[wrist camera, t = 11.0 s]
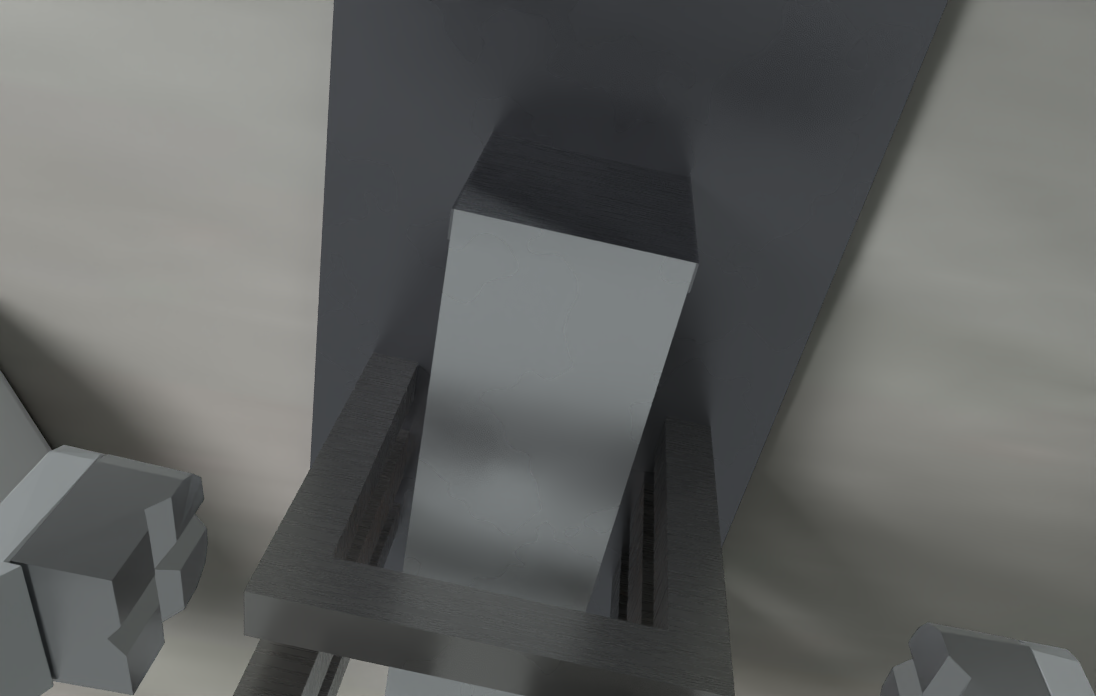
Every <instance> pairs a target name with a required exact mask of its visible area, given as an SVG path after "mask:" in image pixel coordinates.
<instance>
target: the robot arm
mask: <svg viewBox="0 0 1096 696" xmlns="http://www.w3.org/2000/svg"><path fill="white" fill-rule="evenodd" d="M203 500H204V495H203V487H202V480H201V477H199V476H197V475H195V474H193V473H189V472H184V471H180V470H175V469H171V468H167V467H162V466H158V465H154V464H149V463H145V462H141V461H136V460H132V459H128V458H123V457H119V456H115V455H110V454H103V453H98V452H94V451H89V450H85V449H81V448H76V447H72V446H67V445H63V446H60V447H58V448H56V449H54V450H52V451H50V452H48V453H47V454H46V455H45V456H44V457H43V458H42V460H41V461H40V462H39V463H38V464H37V465H36V466H35V467H34V468H33V469H32V470H31V471H30V472H29V473H28V474H27V475H26V476H25V478H24V479H23V480H22V481H21V482H20V483H19V484H18V485H17V486H16V487H15V488H14V489H13V490H12V491H11V492H10V493H9V495H8V496H7V497H6V498H5V499H4V500H3V501H2V502H1V503H0V696H40V695H41V694H43V693H44V692H46V691H47V690H49V689H50V688H51V687H53V681H56V682H61V683H67V684H73V685H78V686H84V687H90V688H95V689H101V690H107V691H112V692H118V693H124V694H129V695H134V693H135V691H136V690H137V688H138V686H139V685H140V683H141V681H142V680H143V678H144V676H145V675H146V673H147V671H148V670H149V668H150V666H151V665H152V663H153V661H154V660H155V658H156V656H157V655H158V653H159V651H160V650H161V648H162V646H163V645H164V643H165V641H164V633H163V626H162V622H163V621H165V620H167V619H168V618H170V617H172V616H173V615H175V614H177V613H179V612H180V611H182V610H184V609H185V607H186V605H187V604H188V602H189V600H190V598H191V597H192V595H193V593H194V591H195V590H196V588H197V585H198V582H199V579H200V576H201V573H202V571H203V568H204V565H205V561H206V553H207V545H208V539H207V527H206V526H205V525H204V524H203V523H202V521H201V520H200V519H199V518H198V517H197V516H196V515H195V513H196V511H197V509H198V508H199V506H200V505H201V503H202V502H203ZM908 643H909V647H910V650H911V654H912V659H910V660H908V661H906V662H903V663H901V664H899V665H897V666H895V667H893V668H892V670H891V671H890V673H889V675H888V677H887V679H886V680H885V682H884V684H883V686H882V689H881V695H880V696H1095V694H1094V692H1093V690H1092V688H1091V686H1090V683H1089V681H1088V679H1087V677H1086V675H1085V673H1084V671H1083V669H1082V667H1081V665H1080V663H1079V661H1078V659H1077V658H1076V657H1075V656H1074V655H1073V654H1072V653H1071V652H1070V651H1069V650H1068V649H1064V648H1059V647H1054V646H1048V645H1043V644H1038V643H1033V642H1028V641H1023V640H1015V639H1013V638H1009V637H1004V636H999V635H993V634H988V633H983V632H978V631H973V630H967V629H962V628H957V627H952V626H947V625H941V624H936V623H931V622H928V623H926V624H924V625H922V626H921V627H919V628H918V629H917V630H916V632H915V633H914V635H913V636H912V638H911V639H910V641H909V642H908Z"/></svg>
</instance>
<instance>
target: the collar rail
mask: <svg viewBox="0 0 1096 696" xmlns="http://www.w3.org/2000/svg"><path fill="white" fill-rule="evenodd" d="M947 2H948V0H334V12H333V31H332V51H331V70H330V90H329V110H328V129H327V149H326V168H325V188H324V207H323V227H322V247H321V266H320V286H319V305H318V325H317V344H316V364H315V384H314V403H313V423H312V442H311V462H310V470H309V472H308V474H307V476H306V478H305V480H304V481H303V483H302V485H301V487H300V489H299V491H298V492H297V494H296V496H295V498H294V500H293V502H292V504H291V505H290V507H289V509H288V511H287V513H286V515H285V517H284V518H283V520H282V522H281V524H280V526H279V528H278V530H277V531H276V533H275V535H274V537H273V539H272V541H271V542H270V544H269V546H268V548H267V550H266V552H265V554H264V555H263V557H262V559H261V561H260V563H259V565H258V567H257V568H256V570H255V572H254V574H253V576H252V578H251V580H250V581H249V583H248V585H247V587H246V589H245V591H244V635H246V636H251V637H255V638H260V641H259V643H258V645H257V647H256V649H255V651H254V654H253V656H252V658H251V660H250V662H249V664H248V666H247V668H246V670H245V672H244V674H243V676H242V678H241V680H240V682H239V684H238V686H237V688H236V690H235V692H234V695H233V696H336V695H337V692H338V689H339V687H340V684H341V681H342V679H343V676H344V673H345V670H346V668H347V665H348V662H349V660H350V658H352V659H357V660H361V661H366V662H371V663H375V664H380V665H384V666H389V667H394V668H398V669H403V670H407V671H412V672H417V673H421V674H426V675H431V676H435V677H440V678H444V679H449V680H454V681H458V682H463V683H467V684H472V685H477V686H481V687H486V688H491V689H495V690H500V691H504V692H509V693H514V694H518V695H523V696H735V692H734V681H733V670H732V659H731V648H730V637H729V626H728V615H727V603H726V592H725V581H724V570H723V559H722V545H723V543H724V540H725V538H726V536H727V533H728V531H729V528H730V526H731V523H732V521H733V519H734V516H735V514H736V511H737V509H738V507H739V504H740V502H741V499H742V497H743V494H744V492H745V490H746V487H747V485H748V482H749V480H750V478H751V475H752V473H753V470H754V468H755V465H756V463H757V461H758V458H759V456H760V453H761V451H762V449H763V446H764V444H765V441H766V439H767V436H768V434H769V432H770V429H771V427H772V424H773V422H774V420H775V417H776V415H777V412H778V410H779V408H780V405H781V403H782V400H783V398H784V395H785V393H786V391H787V388H788V386H789V383H790V381H791V379H792V376H793V374H794V371H795V369H796V366H797V364H798V362H799V359H800V357H801V354H802V352H803V350H804V347H805V345H806V342H807V340H808V337H809V335H810V333H811V330H812V328H813V325H814V323H815V321H816V318H817V316H818V313H819V311H820V308H821V306H822V304H823V301H824V299H825V296H826V294H827V292H828V289H829V287H830V284H831V282H832V279H833V277H834V275H835V272H836V270H837V267H838V265H839V263H840V260H841V258H842V255H843V253H844V251H845V248H846V246H847V243H848V241H849V238H850V236H851V234H852V231H853V229H854V226H855V224H856V222H857V219H858V217H859V214H860V212H861V209H862V207H863V205H864V202H865V200H866V197H867V195H868V193H869V190H870V188H871V185H872V183H873V180H874V178H875V176H876V173H877V171H878V168H879V166H880V164H881V161H882V159H883V156H884V154H885V151H886V149H887V147H888V144H889V142H890V139H891V137H892V135H893V132H894V130H895V127H896V125H897V122H898V120H899V118H900V115H901V113H902V110H903V108H904V106H905V103H906V101H907V98H908V96H909V93H910V91H911V89H912V86H913V84H914V81H915V79H916V77H917V74H918V72H919V69H920V67H921V65H922V62H923V60H924V57H925V55H926V52H927V50H928V48H929V45H930V43H931V40H932V38H933V36H934V33H935V31H936V28H937V26H938V23H939V21H940V19H941V16H942V14H943V11H944V9H945V7H946V4H947ZM492 133H494V134H498V135H503V136H507V137H512V138H516V139H520V140H525V141H529V142H534V143H538V144H543V145H547V146H552V147H556V148H561V149H565V150H570V151H574V152H579V153H583V154H587V155H592V156H596V157H601V158H605V159H610V160H614V161H619V162H623V163H628V164H632V165H637V166H641V167H646V168H650V169H655V170H659V171H663V172H668V173H672V174H677V175H681V176H686V177H690V178H691V185H692V195H693V205H694V215H695V226H696V236H697V246H698V256H699V266H698V269H697V272H696V275H695V279H694V282H693V285H692V288H691V291H690V293H688V292H687V295H686V298H685V301H684V304H683V307H682V310H681V314H680V317H679V320H678V323H677V326H676V329H675V332H674V336H673V339H672V342H671V345H670V348H669V351H668V354H667V358H666V361H665V364H664V367H663V370H662V373H661V376H660V380H659V383H658V386H657V389H656V392H655V395H654V399H653V402H652V405H651V408H650V411H649V414H648V417H647V421H646V424H645V427H644V430H643V433H642V436H641V439H640V443H639V446H638V449H637V452H636V455H635V458H634V462H633V465H632V468H631V471H630V474H629V477H628V480H627V484H626V487H625V490H624V493H623V496H622V499H621V502H620V506H619V509H618V512H617V515H616V518H615V521H614V524H613V528H612V531H611V534H610V537H609V540H608V543H607V547H606V550H605V553H604V556H603V559H602V562H601V565H600V569H599V572H598V575H597V578H596V581H595V584H594V587H593V591H592V594H591V597H590V600H589V603H588V606H587V610H586V612H582V611H577V610H573V609H568V608H563V607H559V606H554V605H550V604H545V603H540V602H536V601H531V600H527V599H522V598H517V597H513V596H508V595H504V594H499V593H494V592H490V591H485V590H481V589H476V588H471V587H467V586H462V585H458V584H453V583H448V582H444V581H439V580H435V579H430V578H425V577H421V576H416V575H412V574H407V573H402V572H403V565H404V558H405V551H406V544H407V537H408V530H409V523H410V516H411V509H412V502H413V495H414V488H415V481H416V474H417V467H418V460H419V453H420V446H421V439H422V432H423V425H424V418H425V411H426V404H427V397H428V390H429V383H430V376H431V369H432V362H433V355H434V348H435V341H436V334H437V327H438V320H439V313H440V306H441V299H442V292H443V285H444V278H445V271H446V264H447V257H448V250H449V243H450V239H447V237H448V230H449V223H450V216H451V209H452V207H453V205H454V203H455V201H456V199H457V197H458V196H459V194H460V192H461V190H462V188H463V186H464V184H465V183H466V181H467V179H468V177H469V175H470V173H471V171H472V170H473V168H474V166H475V164H476V162H477V160H478V158H479V157H480V155H481V153H482V151H483V149H484V147H485V145H486V144H487V142H488V140H489V138H490V136H491V134H492Z"/></svg>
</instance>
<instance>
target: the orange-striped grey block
mask: <svg viewBox="0 0 1096 696" xmlns="http://www.w3.org/2000/svg"><path fill="white" fill-rule="evenodd" d="M447 239H450V243H449V250H448V257H447V264H446V271H445V278H444V285H443V292H442V299H441V306H440V313H439V320H438V327H437V334H436V341H435V348H434V355H433V362H432V369H431V376H430V383H429V390H428V397H427V404H426V411H425V418H424V425H423V432H422V439H421V446H420V453H419V460H418V467H417V474H416V481H415V488H414V495H413V502H412V509H411V516H410V523H409V530H408V537H407V544H406V551H405V558H404V565H403V572H402V573H407V574H412V575H416V576H421V577H425V578H430V579H435V580H439V581H444V582H448V583H453V584H458V585H462V586H467V587H471V588H476V589H481V590H485V591H490V592H494V593H499V594H504V595H508V596H513V597H517V598H522V599H527V600H531V601H536V602H540V603H545V604H550V605H554V606H559V607H563V608H568V609H573V610H577V611H582V612H586V610H587V606H588V603H589V600H590V597H591V594H592V591H593V587H594V584H595V581H596V578H597V575H598V572H599V569H600V565H601V562H602V559H603V556H604V553H605V550H606V547H607V543H608V540H609V537H610V534H611V531H612V528H613V524H614V521H615V518H616V515H617V512H618V509H619V506H620V502H621V499H622V496H623V493H624V490H625V487H626V484H627V480H628V477H629V474H630V471H631V468H632V465H633V462H634V458H635V455H636V452H637V449H638V446H639V443H640V439H641V436H642V433H643V430H644V427H645V424H646V421H647V417H648V414H649V411H650V408H651V405H652V402H653V399H654V395H655V392H656V389H657V386H658V383H659V380H660V376H661V373H662V370H663V367H664V364H665V361H666V358H667V354H668V351H669V348H670V345H671V342H672V339H673V336H674V332H675V329H676V326H677V323H678V320H679V317H680V314H681V310H682V307H683V304H684V301H685V298H686V295H687V292H688V293H690V291H691V288H692V285H693V282H694V279H695V275H696V272H697V269H698V266H699V256H698V246H697V236H696V226H695V215H694V205H693V195H692V185H691V178H690V177H686V176H681V175H677V174H672V173H668V172H663V171H659V170H655V169H650V168H646V167H641V166H637V165H632V164H628V163H623V162H619V161H614V160H610V159H605V158H601V157H596V156H592V155H587V154H583V153H579V152H574V151H570V150H565V149H561V148H556V147H552V146H547V145H543V144H538V143H534V142H529V141H525V140H520V139H516V138H512V137H507V136H503V135H498V134H494V133H492V134H491V136H490V138H489V140H488V142H487V144H486V145H485V147H484V149H483V151H482V153H481V155H480V157H479V158H478V160H477V162H476V164H475V166H474V168H473V170H472V171H471V173H470V175H469V177H468V179H467V181H466V183H465V184H464V186H463V188H462V190H461V192H460V194H459V196H458V197H457V199H456V201H455V203H454V205H453V207H452V209H451V216H450V223H449V230H448V237H447ZM385 696H523V695H518V694H514V693H509V692H504V691H500V690H495V689H491V688H486V687H481V686H477V685H472V684H467V683H463V682H458V681H454V680H449V679H444V678H440V677H435V676H431V675H426V674H421V673H417V672H412V671H407V670H403V669H398V668H394V667H389V671H388V678H387V685H386V692H385Z"/></svg>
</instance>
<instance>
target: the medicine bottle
mask: <svg viewBox="0 0 1096 696" xmlns="http://www.w3.org/2000/svg"><path fill="white" fill-rule="evenodd" d="M50 451H52V449H51V448H50V446H49V445H48V443H47V442H46V440H45V439H44V437H43V435H42V434H41V432H40V431H39V429H38V428H37V426H36V425H35V423H34V421H33V420H32V418H31V417H30V415H29V414H28V412H27V411H26V409H25V408H24V406H23V404H22V403H21V401H20V400H19V398H18V397H17V395H16V394H15V392H14V390H13V389H12V387H11V386H10V384H9V383H8V381H7V380H6V378H5V377H4V375H3V373H2V372H1V370H0V503H1V502H2V501H3V500H4V499H5V498H6V497H7V496H8V495H9V493H10V492H11V491H12V490H13V489H14V488H15V487H16V486H17V485H18V484H19V483H20V482H21V481H22V480H23V479H24V478H25V476H26V475H27V474H28V473H29V472H30V471H31V470H32V469H33V468H34V467H35V466H36V465H37V464H38V463H39V462H40V461H41V460H42V458H43V457H44V456H45V455H46V454H47V453H48V452H50Z"/></svg>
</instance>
